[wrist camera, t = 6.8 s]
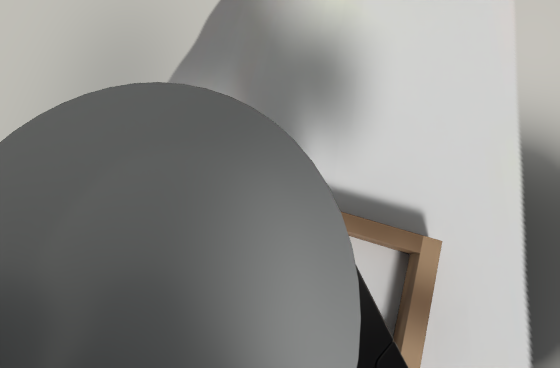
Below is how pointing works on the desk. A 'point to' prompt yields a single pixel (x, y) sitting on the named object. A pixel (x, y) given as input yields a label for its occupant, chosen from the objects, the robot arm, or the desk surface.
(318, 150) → the desk surface
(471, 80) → the desk surface
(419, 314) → the walnut collar
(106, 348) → the pale grey cylinder
